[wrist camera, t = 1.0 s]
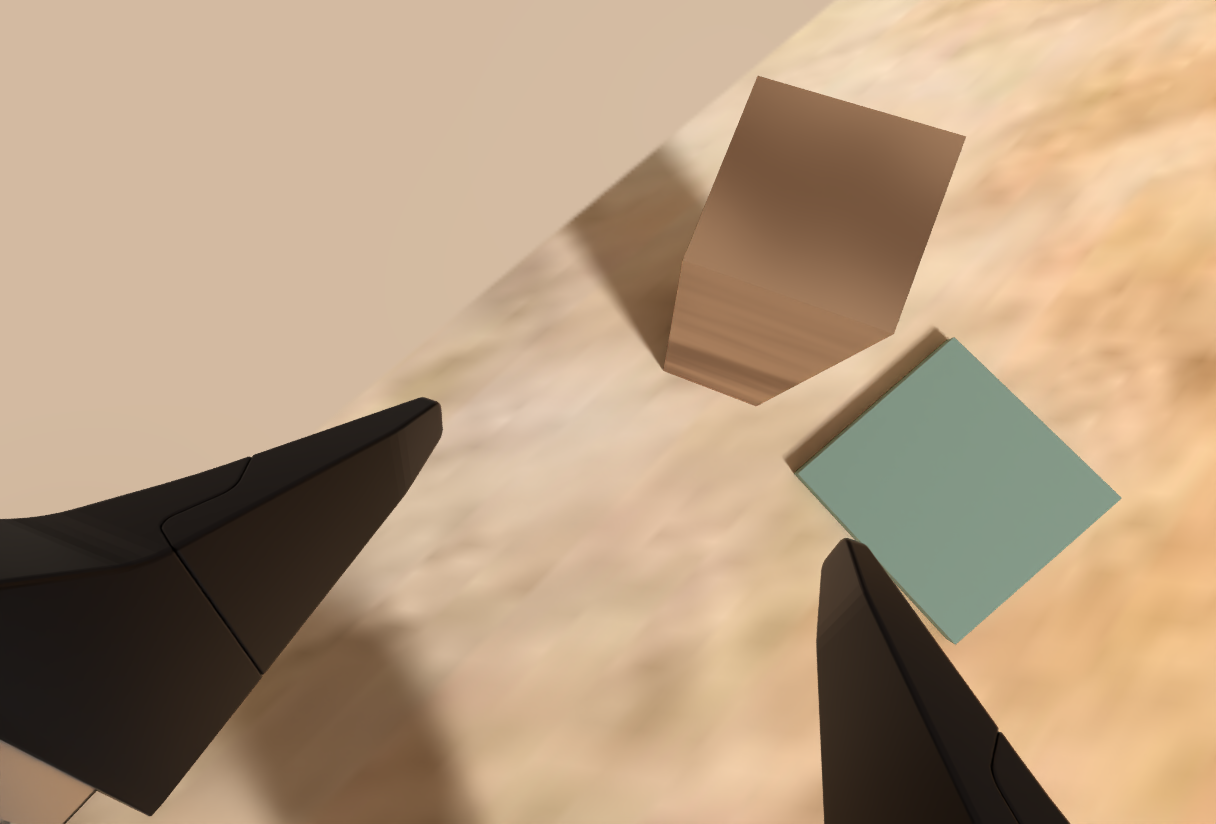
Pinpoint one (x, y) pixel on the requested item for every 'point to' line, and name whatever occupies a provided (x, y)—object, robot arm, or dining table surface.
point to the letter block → (805, 241)
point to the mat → (956, 489)
